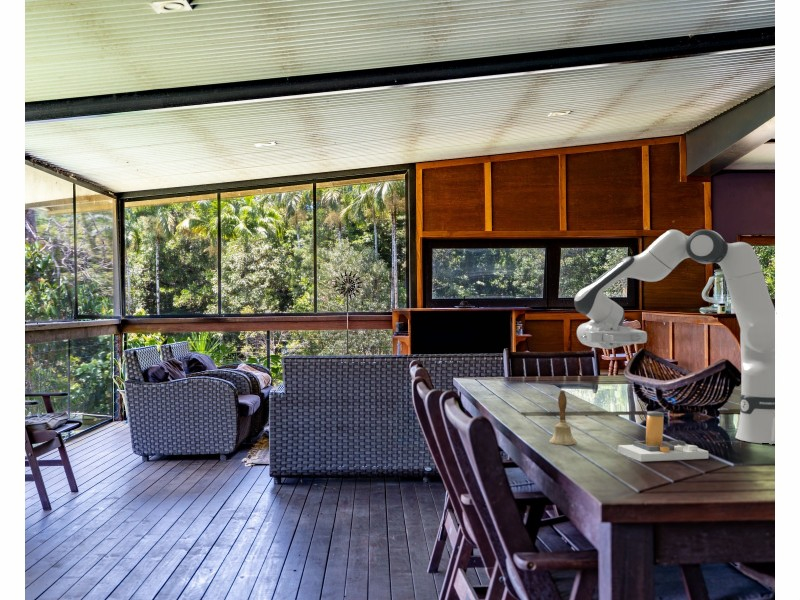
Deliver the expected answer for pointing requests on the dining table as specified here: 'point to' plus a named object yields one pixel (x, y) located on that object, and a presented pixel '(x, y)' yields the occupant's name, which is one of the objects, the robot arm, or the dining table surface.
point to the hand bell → (562, 425)
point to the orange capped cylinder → (654, 428)
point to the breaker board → (662, 451)
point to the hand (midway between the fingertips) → (628, 338)
